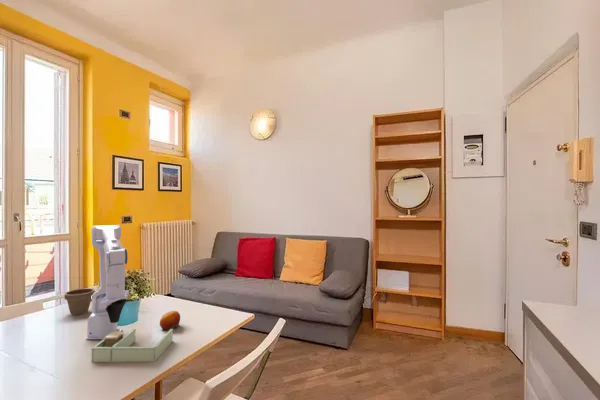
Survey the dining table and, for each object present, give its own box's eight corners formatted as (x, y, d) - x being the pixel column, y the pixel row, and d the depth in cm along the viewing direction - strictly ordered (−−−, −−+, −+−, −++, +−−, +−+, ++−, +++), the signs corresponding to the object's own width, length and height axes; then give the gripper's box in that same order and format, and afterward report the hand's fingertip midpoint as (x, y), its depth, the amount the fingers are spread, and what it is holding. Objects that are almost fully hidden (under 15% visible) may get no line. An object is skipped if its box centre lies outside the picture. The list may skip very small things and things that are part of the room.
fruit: (176, 329, 118) (168, 311, 119) (161, 337, 119) (153, 320, 120) (188, 321, 126) (180, 305, 127) (174, 329, 127) (166, 313, 128)
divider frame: (90, 362, 96) (91, 348, 96) (116, 341, 110) (117, 329, 110) (155, 361, 97) (155, 348, 97) (172, 340, 111) (173, 329, 111)
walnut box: (116, 354, 100) (116, 337, 101) (104, 354, 100) (104, 337, 100) (122, 348, 105) (123, 332, 105) (111, 349, 104) (111, 332, 104)
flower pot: (74, 308, 143) (75, 287, 143) (99, 308, 144) (99, 287, 144) (57, 317, 131) (58, 295, 132) (84, 316, 133) (85, 294, 133)
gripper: (115, 289, 96) (113, 330, 96) (137, 278, 110) (136, 314, 110) (93, 289, 95) (91, 330, 95) (118, 278, 110) (117, 314, 110)
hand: (114, 322), depth 103 cm, fingers closed
